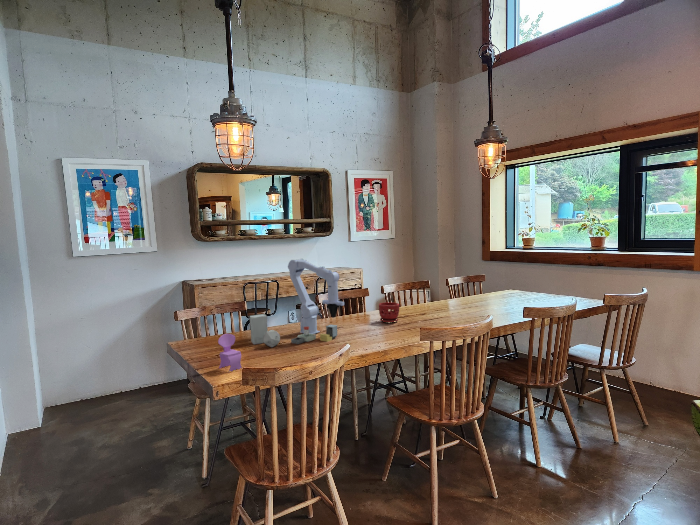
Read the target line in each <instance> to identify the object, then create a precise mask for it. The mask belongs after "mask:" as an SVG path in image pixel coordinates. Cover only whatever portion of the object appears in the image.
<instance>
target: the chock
mask: <svg viewBox="0 0 700 525" xmlns="http://www.w3.org/2000/svg"><path fill="white" fill-rule="evenodd" d="M319 339H320V340H319V341H322V342H327V343H328V342H330V341H333V339H332V337H330V335H328V334H326V333H320V335H319Z"/></svg>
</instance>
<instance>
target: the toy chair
mask: <svg viewBox="0 0 700 525" xmlns="http://www.w3.org/2000/svg"><path fill="white" fill-rule="evenodd" d="M235 342H236V336H235V335H234V334H231V333H224V334H222V335H221V336H220V337H219V338H218V340H217V343H218V345H219V346H221V347H222V349H223V351H221V352H219V358H220V363H219V367H218V369H223V368H225V366H226V367H229V366H230V368H229V370H228V372H229V371H231V372H234V371H233V370H235V371H237V370H236V369H238V370H241V369H243V367H242V364H241V361H242V360H241V359H242V352H241V351H240V350H236V349H231V347H232V346H233V345H234V344H235ZM222 367H223V368H222ZM240 368H241V369H240Z"/></svg>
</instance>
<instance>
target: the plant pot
mask: <svg viewBox="0 0 700 525" xmlns="http://www.w3.org/2000/svg"><path fill="white" fill-rule="evenodd" d="M378 312H379V316H380V319H379V321H380V322H381V321H383V322H394V321H397V322H398V321H399V314H400V303H398V302H389V301H388V302H380V303H379V304H378ZM382 319H383V320H382ZM396 319H397V320H396ZM383 322H382V323H383Z"/></svg>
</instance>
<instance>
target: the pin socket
mask: <svg viewBox="0 0 700 525" xmlns="http://www.w3.org/2000/svg"><path fill="white" fill-rule="evenodd" d="M290 343H291V344H295V345H299V344H302V343H306V342H305V341H304V338H299V337H298V336H297V337H294V338H291V339H290Z"/></svg>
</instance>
